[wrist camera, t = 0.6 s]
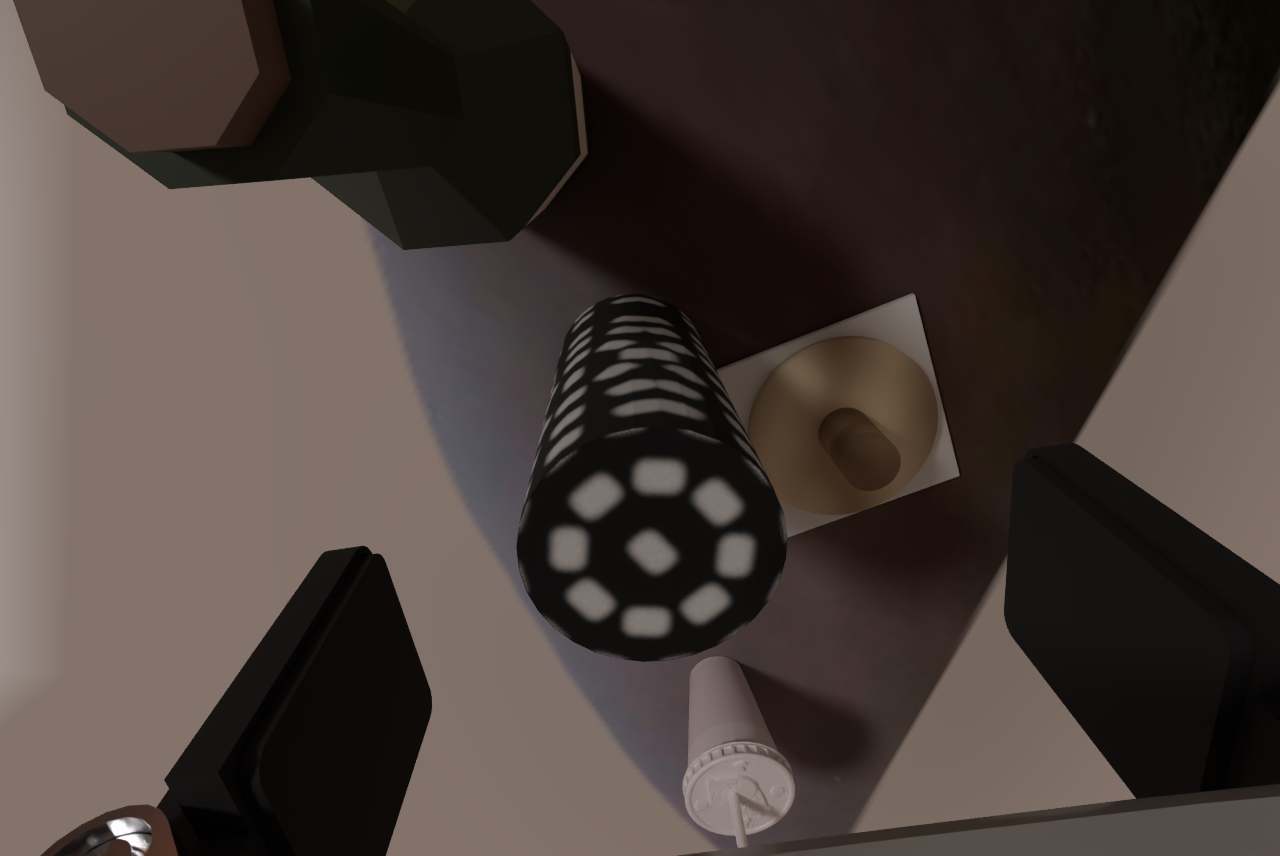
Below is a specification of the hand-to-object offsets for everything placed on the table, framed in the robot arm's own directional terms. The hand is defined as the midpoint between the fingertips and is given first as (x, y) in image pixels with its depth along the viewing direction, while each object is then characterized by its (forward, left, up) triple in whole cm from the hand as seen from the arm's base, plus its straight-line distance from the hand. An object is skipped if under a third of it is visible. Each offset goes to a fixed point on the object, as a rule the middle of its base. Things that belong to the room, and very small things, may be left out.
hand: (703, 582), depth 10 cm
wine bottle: (+3, -9, -30) cm, 31 cm away
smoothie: (+5, +28, -30) cm, 41 cm away
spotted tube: (+2, +5, -30) cm, 30 cm away
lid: (-8, +13, -29) cm, 33 cm away
